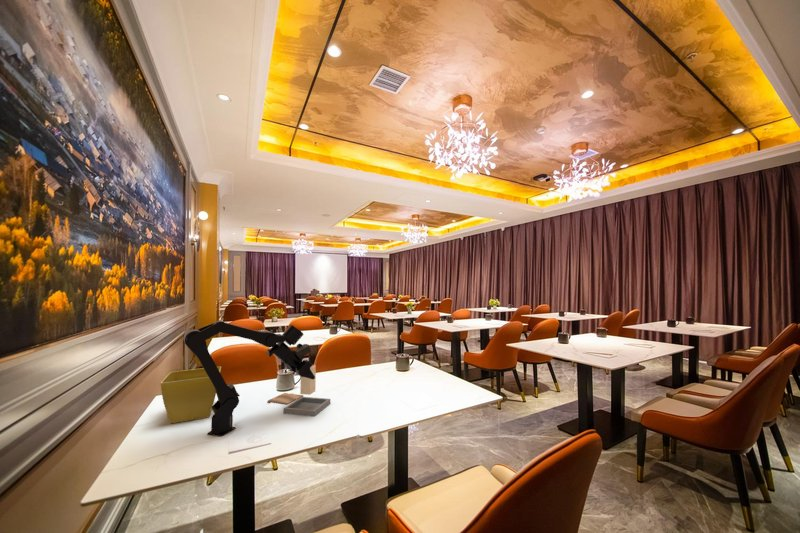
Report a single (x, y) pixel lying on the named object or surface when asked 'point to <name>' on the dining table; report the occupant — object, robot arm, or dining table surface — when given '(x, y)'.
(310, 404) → the bin
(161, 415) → the dining table surface
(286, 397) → the pad
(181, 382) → the flower pot
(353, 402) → the dining table surface
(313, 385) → the carton
